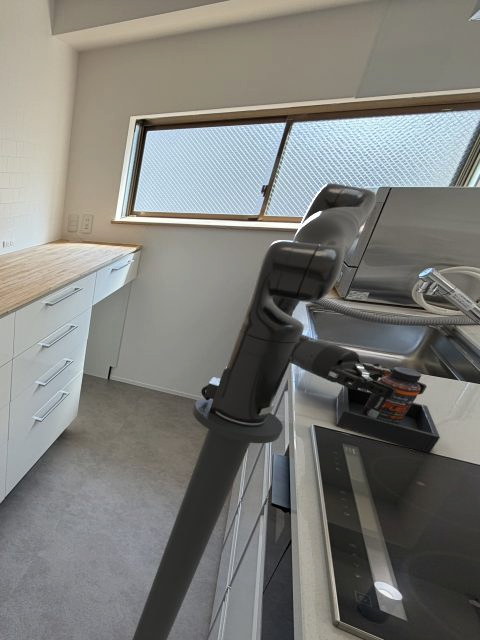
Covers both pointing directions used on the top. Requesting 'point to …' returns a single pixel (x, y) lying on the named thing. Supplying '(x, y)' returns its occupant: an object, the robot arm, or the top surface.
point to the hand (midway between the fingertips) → (408, 392)
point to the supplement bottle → (401, 400)
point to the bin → (410, 432)
